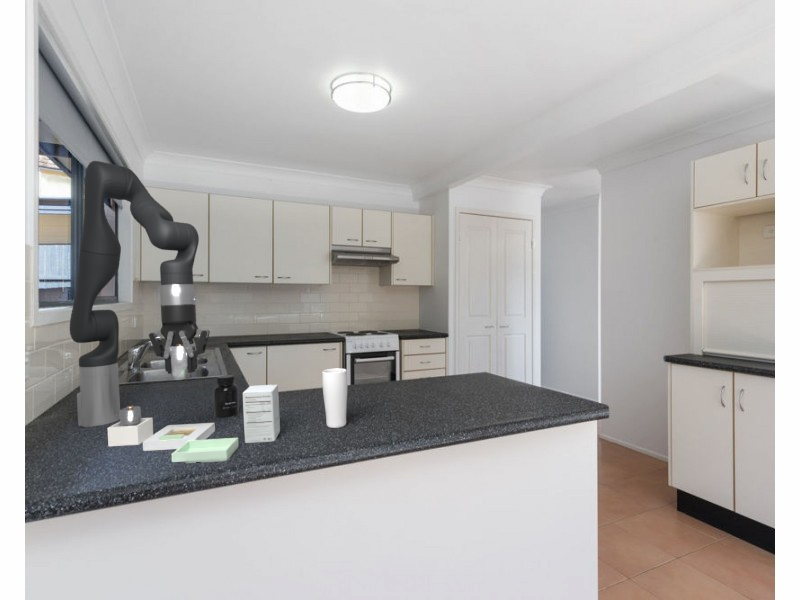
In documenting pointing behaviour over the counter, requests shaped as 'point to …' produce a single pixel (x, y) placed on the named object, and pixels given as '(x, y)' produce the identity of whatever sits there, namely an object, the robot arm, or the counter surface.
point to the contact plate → (182, 432)
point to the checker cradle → (177, 436)
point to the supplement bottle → (226, 397)
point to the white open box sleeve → (130, 433)
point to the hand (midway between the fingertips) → (181, 372)
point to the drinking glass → (335, 396)
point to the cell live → (179, 362)
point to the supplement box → (261, 413)
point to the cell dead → (130, 416)
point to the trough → (205, 450)
